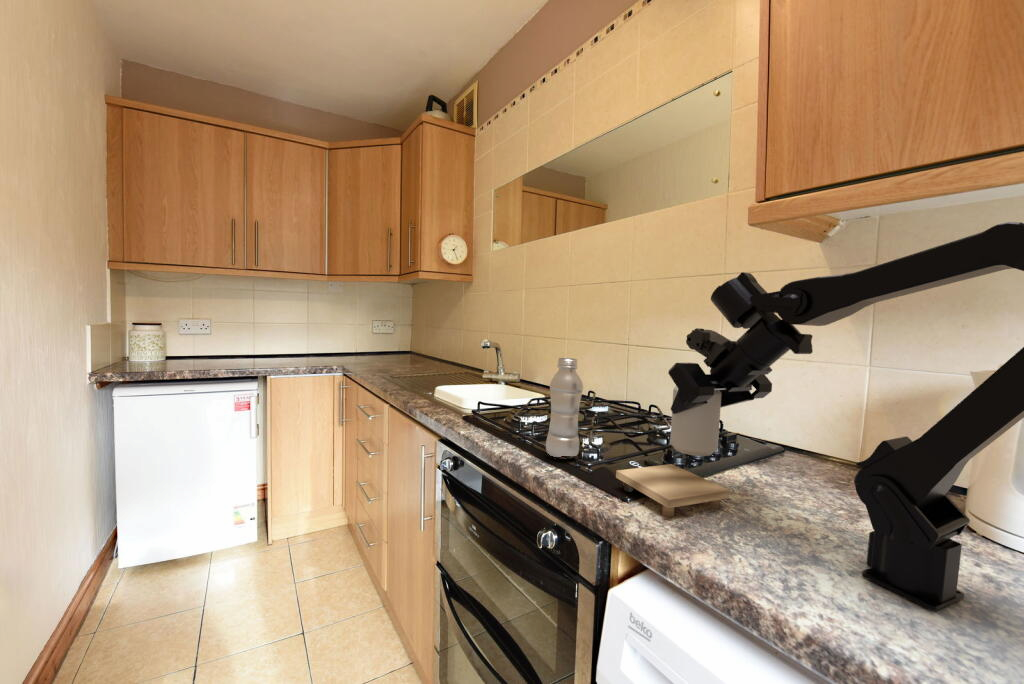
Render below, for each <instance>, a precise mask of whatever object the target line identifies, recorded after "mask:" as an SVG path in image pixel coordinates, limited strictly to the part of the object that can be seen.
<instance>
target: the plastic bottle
mask: <svg viewBox="0 0 1024 684" xmlns="http://www.w3.org/2000/svg"><path fill="white" fill-rule="evenodd" d="M556 366H557V368H558V370H557V371H556V373H555V374H554V375H553V377H552V379H551V380H550V383H549V392H550V393H549V394H550V411H551V412H550V422H549V429H548V434H547V437H546V441H545V450H546V453H547V455H548V454H549V455H550V456H553V457H561V456H577V455H578V454H579V451H580V439H579V421H578V420H579V413H580V405H581V400H582V396H583V389H584V383H583V381H582V379H581V377H580V375H579V374H578V373H577V369H578V359H577V358H572V357H571V358H570V357H558V359H557V365H556ZM549 455H548V456H549ZM550 456H549V457H550Z"/></svg>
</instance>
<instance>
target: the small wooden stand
mask: <svg viewBox="0 0 1024 684" xmlns="http://www.w3.org/2000/svg"><path fill="white" fill-rule="evenodd" d="M615 471H616V472H615V473H616V474H615V478H616V479H617V480H619V481H621V482H623V484H624V483H626V484H628V485H629V486H631V487H633V488H634V489H635V490H636V491H638V492H640V493H642V494H644V495H645V496H646V497H649V498H650V499H651V500H654V501H655V502H657V503H659V504H661V505H662V512H661V513H662V515H663V516H664V517H668V518H672V517H675V508H676V507H677V508H679V507H683V506H684V507H685V506H690V505H691V506H692V505H696V504H702V503H707V505H706V506H707V507H708V508H710V509H714V510H718V509H719V508H720V500H725V499H730V494H731V493H730V491H731V490H730V489H728V488H725V487H723V486H722V485H720V484H716V483H715V482H712V481H710V480H709V479H706V478H704V477H701V476H699V475H696V474H694V473H693V472H691V471H689V470H686V469H683V468H682V467H680V466H676V465H675V464H672V463H670V464H661V465H652V466H643V467H635V468H627V469H617V470H615Z"/></svg>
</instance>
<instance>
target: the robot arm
mask: <svg viewBox="0 0 1024 684" xmlns="http://www.w3.org/2000/svg"><path fill="white" fill-rule="evenodd" d="M1013 269H1016V270H1019V271H1022V272H1024V223H1023V222H1020V221H1019V222H1018V221H1017V222H1016V221H1008V222H1004V223H999V224H996V225H993V226H991V227H990V228H987V229H986V230H983V231H982V232H978V233H975V234H972V235H968V236H965V237H961V238H960V239H957V240H953V241H950V242H947V243H944V244H940V245H937V246H934V247H931V248H928V249H925V250H921V251H918V252H915V253H912V254H909V255H906V256H903V257H899V258H896V259H893V260H890V261H887V262H883V263H881V264H878V265H875V266H871V267H868V268H865V269H862V270H859V271H856V272H850V273H845V274H836V275H826V276H825V275H824V276H817V277H812V278H811V277H810V278H806V279H805V278H804V279H799V280H794V281H790V282H788V283H786V284H784V285H783V286H782V287H781V288H780V289H779V290H777V291H773V292H767V290H765V289H764V287H763V286H762V285H761V284H760V283H759V282H758V280H757V278H756V277H755V276H754V275H753V274H752V273H750V272H744V271H743V272H741V273H739V275H737V277H734V278H730V279H729V280H727V281H725V282H724V283H722V284H721V285H718V286H717V287H716V288H715V289H714V291H713V292H712V294H711V296H710V301H711V302H712V304H713V305H714V306H715V308H716V309H717V310H718V311H719V312H720V314H722V316H724V319H726V320H727V322H728V323H729V324H730V325H731V327H733V328H734V329H740V328H743V330H744V329H747V330H746V331H745V332H744V333H743V334H742V335H741V336H740V337H739V338H738V339H737V340H731V339H729V338H727V337H725V336H724V335H722V334H720V333H718V332H717V331H715V330H711V329H704V328H702V327H701V328H696V327H695V328H694V329H692V330H691V332H690V333H688V334H687V335H686V339H685V343H686V345H687V346H688V348H689V349H690V350H694V351H696V352H697V353H699V354H700V355H701V356H703V357H705V358H704V359H703V362H704V364H705V365H706V366H707V367H708V368H710V369H709V374H708V373H705V371H704V370H703V368H702V367H701V366H700V364H699V363H698V362H675V363H674V364H673V365H672V367H670V368H669V370H668V372H667V374H668V375H669V377H670V378H671V380H672V381H673V383H674V384H675V386H677V387H678V392H677V394H676V397H675V399H674V402H673V401H672V404H671V407H670V411H671V413H672V412H673V414H677V413H680V412H683V411H686V410H689V409H692V408H695V407H698V406H701V405H704V404H707V403H708V402H707V401H706V400H708V399H710V398H711V397H712V396H713V395H714V390H719V391H720V392H721V408H725V407H728V406H734V405H737V404H741V403H745V402H750V401H754V400H755V399H764V398H765V397H766V396H768V395H769V394H770V393H772V391H773V390H772V389H773V383H772V381H770V379H769V378H768V377H767V375H769V374H770V373H771V372H772V371H773V368H772V367H771V366H772V365H773V364H774V363H776V362H777V361H778V360H779V359H780V358H782V357H783V356H784V355H785V354H787V353H788V352H789V351H790V350H791V352H792V353H793V354H795V355H811V354H813V351H814V350H813V343H812V339H813V337H814V336H813V335H812V334H810V333H801V331H799V329H798V328H797V327H796V325H797V326H813V327H814V326H815V327H824V326H828V325H830V324H834V323H835V322H837V321H840V320H843V319H846V318H848V317H850V316H852V315H854V314H856V313H858V312H860V311H861V310H863V309H864V308H866V307H869V306H872V305H874V304H876V303H879V302H883V301H888V300H892V299H895V298H898V297H902V296H907V295H911V294H914V293H918V292H919V293H920V292H922V291H928V290H930V289H934V288H937V287H942V286H946V285H949V284H950V285H951V284H955V283H957V282H963V281H966V280H970V279H973V278H978V277H981V276H985V275H989V274H992V273H997V272H1001V271H1005V270H1013ZM753 388H754V389H755V390H754V391H753V392H752V390H753ZM1023 419H1024V346H1023V347H1022V348H1021V349H1019V350H1018V351H1017V352H1016V353H1015V354H1013V356H1012V357H1010V358H1009V359H1008V360H1007V361H1005V362H1004V364H1002V365H1001V366H1000V367H999V368H998V369H997V370H995V371H994V372H993V373H992V374H991V375H990V376H988V377H987V378H986V379H985V380H984V381H983V382H982V383H980V384H979V385H978V386H977V387H976V388H975V389H974V390H972V392H970V393H968V395H967V396H966V397H964V399H962V400H961V401H960V402H959V403H958V404H956V405H955V406H954V407H953V408H952V409H951V410H949V412H947V413H946V414H945V415H944V416H943V417H942V418H940V419H939V420H938V421H937V422H936V423H935V424H933V425H932V426H931V427H930V428H928V430H927V431H926V432H924V434H922V435H921V436H920V437H918V438H916V439H915V440H912V439H910V437H908V436H901V437H896V438H895V437H894V438H890V439H884V440H882V441H881V442H880V443H879V444H878V445H877V446H876V448H875V449H874V450H873V452H872V453H871V455H870V456H868V458H866V459H864V460H863V461H862V460H861V461H859V462H856V466H857V467H860V468H861V469H859V470H858V471H857V473H856V475H855V476H854V479H853V483H854V485H855V486H854V487H855V492H856V494H857V497H858V498H859V500H860V501H861V502H862V503H863V505H865V507H866V510H867V514H868V517H869V520H870V524H871V527H872V529H873V530H872V531H870V532H869V534H868V542H867V543H868V544H867V551H866V552H867V555H866V563H865V564H866V566H867V567H868V568H867V569H863V570H862V572H861V575H862V576H863V577H865V578H866V579H868V580H869V581H870V580H871V581H872V582H874V583H876V584H878V585H880V586H882V587H883V588H886V589H888V590H890V591H892V592H894V593H896V594H898V595H900V596H901V597H904V598H906V599H908V600H910V601H912V602H914V603H916V604H918V605H920V606H922V607H924V608H926V609H928V610H931V611H938V610H941V609H942V608H944V607H945V608H946V607H947V606H949V605H952V604H954V603H957V602H958V601H961V600H964V599H965V593H964V592H962V591H960V590H958V582H959V581H958V580H959V572H960V564H961V563H960V562H961V554H962V548H963V547H962V546H963V544H962V543H961V542H957V541H955V540H953V539H952V538H953V537H955V536H960V535H961V534H962V533H963V532H964V531H965V529H966V528H967V526H969V524H970V523H971V520H970V518H969V517H968V516H967V515H966V514H965V513H964V512H963V510H962V509H961V508H960V507H958V505H957V504H956V503H955V502H954V501H953V500H952V499H951V498H950V497H949V496H948V495H947V494H948V492H949V491H950V490H951V488H952V487H953V486H954V484H955V483H956V482H957V481H958V479H959V477H960V475H961V473H962V472H963V470H964V468H965V466H966V465H967V463H968V462H970V460H971V459H973V458H975V456H977V455H978V454H979V453H980V452H982V451H983V450H985V449H986V448H987V447H988V446H989V445H991V444H992V443H993V442H994V441H996V440H997V439H998V438H1000V437H1001V436H1002V435H1003V434H1005V433H1006V432H1007V431H1008V430H1010V429H1011V428H1012V427H1013V426H1015V425H1017V423H1019V422H1020V421H1021V420H1023Z"/></svg>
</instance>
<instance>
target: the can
mask: <svg viewBox="0 0 1024 684" xmlns="http://www.w3.org/2000/svg"><path fill="white" fill-rule="evenodd" d="M677 392H678V387H677V386H676V385H675V386H674V387H673V390H672V403H673V402H674V399H675V397H676V394H677ZM706 401H707V402H708V403H707V404H704V405H701V406H698V407H695V408H692V409H689V410H686V411H683V412H680V413H677V414H673V412H672V411H671V423H670V436H669V437H670V439H669V444H670V445H671V446H672V447H673V448H674V450H675V451H677V452H678V453H681V454H685V455H689V456H694V457H708V456H712V455H713V453H715V452H717V451H718V450H719V449H718V448H719V438H720V437H719V436H720V435H719V434H720V421H721V420H720V419H721V408H722V407H721V392H720V391H719V390H714V395H713V396H712V397H711V398H710V399H708V400H706Z"/></svg>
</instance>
